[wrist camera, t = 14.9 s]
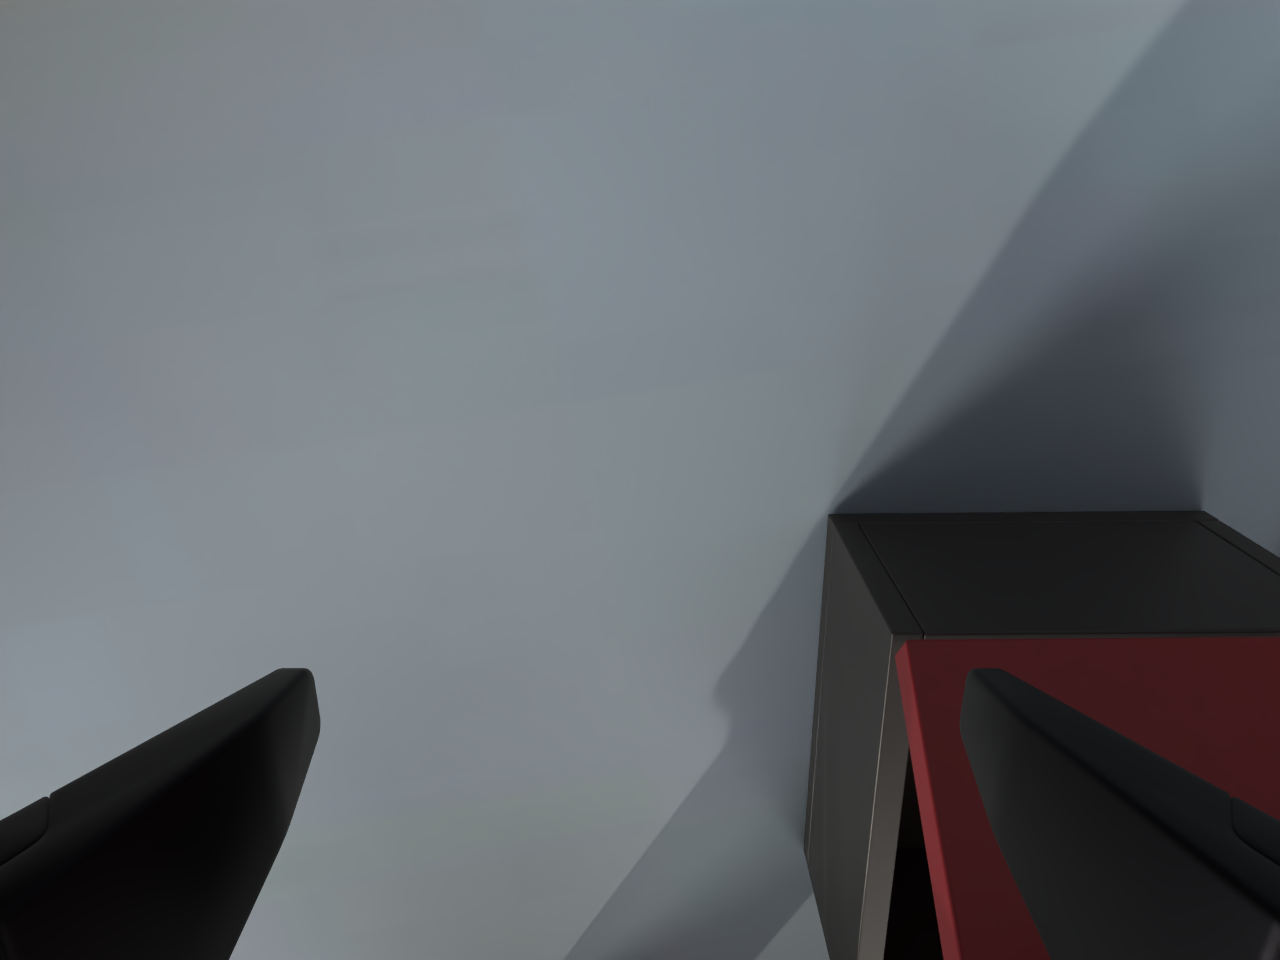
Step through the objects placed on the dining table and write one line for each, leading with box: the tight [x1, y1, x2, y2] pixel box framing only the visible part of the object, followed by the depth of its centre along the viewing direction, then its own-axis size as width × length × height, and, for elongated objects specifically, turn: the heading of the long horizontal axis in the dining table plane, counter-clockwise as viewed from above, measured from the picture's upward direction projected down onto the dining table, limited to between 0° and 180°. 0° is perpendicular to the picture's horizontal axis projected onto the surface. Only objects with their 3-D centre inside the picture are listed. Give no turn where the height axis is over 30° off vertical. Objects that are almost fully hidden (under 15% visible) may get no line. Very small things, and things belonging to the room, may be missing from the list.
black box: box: [804, 511, 1280, 960], centre depth 24 cm, size 12×11×7 cm
